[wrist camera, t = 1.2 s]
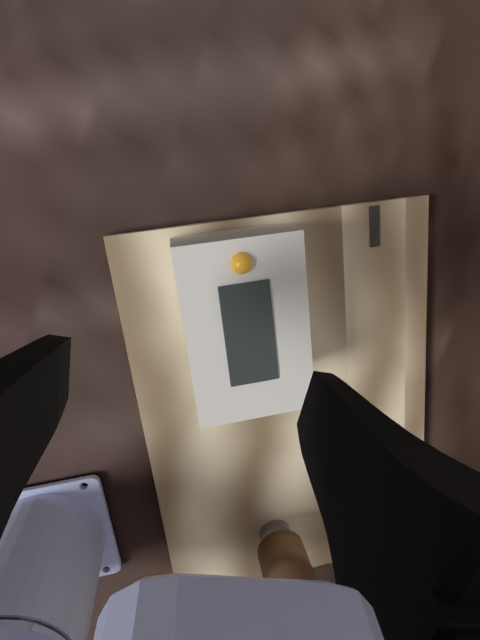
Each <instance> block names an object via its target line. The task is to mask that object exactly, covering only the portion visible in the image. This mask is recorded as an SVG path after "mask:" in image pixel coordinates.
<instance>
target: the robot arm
mask: <svg viewBox="0 0 480 640" xmlns="http://www.w3.org/2000/svg"><path fill="white" fill-rule="evenodd" d="M70 348H71V338H70V337H63V336H55V335H46V336H44V337H42V338H39V339H37V340H35V341H33V342H32V343H30V344H28V345H26V346H24V347H22V348H20V349H18V350H16V351H14V352H12V353H10V354H8V355H6V356H4V357H2V358H0V640H87V639H88V634H89V628H90V623H91V617H92V612H93V606H94V601H95V596H96V590H97V585H98V579H99V577H100V576H104V575H109V574H113V573H116V572H118V571H120V569H121V559H120V555H119V551H118V547H117V543H116V539H115V535H114V531H113V527H112V523H111V519H110V515H109V511H108V507H107V503H106V499H105V496H104V492H103V488H102V484H101V480H100V478H99V477H98V476H97V475H88V476H83V477H78V478H73V479H68V480H63V481H58V482H53V483H48V484H42V485H37V486H32V487H27V488H24V487H25V485H26V484H27V482H28V480H29V478H30V476H31V475H32V473H33V471H34V469H35V467H36V465H37V464H38V462H39V460H40V458H41V456H42V455H43V453H44V451H45V449H46V447H47V445H48V444H49V442H50V440H51V438H52V436H53V434H54V432H55V430H56V429H57V426H58V424H59V421H60V419H61V416H62V414H63V411H64V408H65V405H66V403H67V400H68V391H69V369H70ZM297 430H298V437H299V443H300V448H301V453H302V457H303V460H304V463H305V466H306V470H307V473H308V476H309V479H310V482H311V485H312V488H313V491H314V495H315V498H316V501H317V504H318V507H319V510H320V513H321V516H322V520H323V523H324V527H325V531H326V534H327V539H328V544H329V549H330V554H331V558H332V563H333V568H334V574H335V579H336V584H335V583H331V582H327V581H319V580H300V579H281V578H261V577H242V576H223V575H204V574H185V573H174V574H166V575H158V576H149V577H143V578H142V579H140V580H138V581H136V582H134V583H132V584H130V585H129V586H127V587H125V588H123V589H121V590H119V591H118V592H116V593H114V594H113V595H111V596H110V598H109V600H108V601H107V603H106V605H105V607H104V608H103V610H102V612H101V614H100V616H99V617H98V621H97V626H96V630H95V635H94V640H480V472H478V471H476V470H474V469H472V468H470V467H468V466H466V465H464V464H462V463H460V462H458V461H456V460H455V459H453V458H451V457H449V456H447V455H446V454H444V453H442V452H440V451H439V450H437V449H435V448H434V447H432V446H431V445H429V444H427V443H426V442H424V441H423V440H421V439H419V438H418V437H416V436H415V435H413V434H412V433H410V432H409V431H407V430H406V429H405V428H403V427H402V426H400V425H399V424H398V423H396V422H395V421H394V420H392V419H391V418H389V417H388V416H387V415H386V414H384V413H383V412H382V411H380V410H379V409H378V408H377V407H375V406H374V405H373V404H371V403H370V402H369V401H368V400H367V399H365V398H364V397H363V396H362V395H360V394H359V393H358V392H357V391H355V390H354V389H353V388H352V387H350V386H349V385H348V384H347V383H345V382H344V381H343V380H341V379H340V378H339V377H337V376H336V375H334V374H332V373H326V372H319V371H313V374H312V377H311V380H310V383H309V387H308V390H307V393H306V396H305V399H304V402H303V406H302V409H301V412H300V415H299V418H298V421H297ZM81 483H86V484H88V485H87V486H83V485H82V484H81ZM105 567H109V568H105Z"/></svg>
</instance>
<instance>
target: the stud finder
mask: <svg viewBox="0 0 480 640" xmlns="http://www.w3.org/2000/svg"><path fill="white" fill-rule="evenodd" d="M170 248H171V254H172V260H173V266H174V273H175V279H176V285H177V291H178V297H179V303H180V309H181V316H182V322H183V328H184V334H185V340H186V346H187V353H188V359H189V365H190V371H191V377H192V383H193V389H194V396H195V402H196V408H197V414H198V420H199V426H200V429H202V428H208V427H213V426H218V425H223V424H229V423H234V422H239V421H244V420H250V419H255V418H260V417H265V416H270V415H276V414H281V413H286V412H291V411H297V410H301V409H302V406H303V402H304V399H305V396H306V393H307V390H308V387H309V383H310V380H311V377H312V374H313V362H312V347H311V333H310V318H309V303H308V288H307V273H306V258H305V243H304V230H302V229H297V228H293V227H288V226H283V225H279V224H272V225H264V226H256V227H249V228H241V229H233V230H226V231H218V232H210V233H203V234H195V235H187V236H180V237H172V238H170Z"/></svg>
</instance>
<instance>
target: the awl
mask: <svg viewBox="0 0 480 640" xmlns="http://www.w3.org/2000/svg"><path fill="white" fill-rule="evenodd" d="M260 539H261V542H260V544H259V546H258V549H257V556H258V560H259V564H260V568H261V572H262V576H263V578H281V579H300V580H317V578H316V575H315V573H314V570H313V568H312V565H311V563H310V560H309V557H308V555H307V552H306V550H305V547H304V545H303V542H302V540H301V538H300V536H299V535H298V534H297V533H295V532H293V531H290V528H289V526H288V524H287V523H286V522H284V521H282V520H272V521H269V522H267V523H266V524H265V525H264V526H263V527H262V528H261V530H260Z"/></svg>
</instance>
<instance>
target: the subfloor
mask: <svg viewBox="0 0 480 640" xmlns="http://www.w3.org/2000/svg"><path fill="white" fill-rule="evenodd" d="M428 218H429V195H415V196H408V197H400V198H392V199H384V200H376V201H368V202H360V203H353V204H345V205H337V206H329V207H321V208H313V209H305V210H298V211H290V212H282V213H274V214H266V215H258V216H251V217H243V218H235V219H227V220H219V221H211V222H203V223H196V224H188V225H180V226H172V227H164V228H156V229H148V230H141V231H133V232H125V233H117V234H109V235H105V236H103V238H104V243H105V248H106V253H107V258H108V262H109V267H110V272H111V277H112V282H113V286H114V291H115V296H116V301H117V306H118V310H119V315H120V320H121V325H122V330H123V334H124V339H125V344H126V349H127V353H128V358H129V363H130V368H131V373H132V377H133V382H134V387H135V392H136V397H137V401H138V406H139V411H140V416H141V421H142V425H143V430H144V435H145V440H146V445H147V449H148V454H149V459H150V464H151V468H152V473H153V478H154V483H155V488H156V492H157V497H158V502H159V507H160V512H161V516H162V521H163V526H164V531H165V536H166V540H167V545H168V550H169V555H170V560H171V564H172V569H173V574H174V573H185V574H204V575H223V576H242V577H261V578H263V576H262V572H261V568H260V564H259V560H258V556H257V549H258V546H259V544H260V542H261V539H260V530H261V528H262V527H263V526H264V525H265V524H266V523H267V522H269V521H272V520H282V521H284V522H286V523H287V524H288V526H289V528H290V531H293V532H295V533H297V534H298V535H299V536H300V538H301V540H302V542H303V545H304V547H305V550H306V552H307V555H308V557H309V560H310V563H311V565H312V567H316V566H320V565H324V564H329V563H332V558H331V554H330V549H329V544H328V539H327V534H326V531H325V527H324V523H323V520H322V516H321V513H320V510H319V507H318V504H317V501H316V498H315V495H314V491H313V488H312V485H311V482H310V479H309V476H308V473H307V470H306V466H305V463H304V460H303V457H302V453H301V448H300V443H299V437H298V430H297V421H298V418H299V415H300V412H301V410H297V411H291V412H286V413H281V414H276V415H270V416H265V417H260V418H255V419H250V420H244V421H239V422H234V423H229V424H223V425H218V426H213V427H208V428H202V429H200V426H199V420H198V414H197V408H196V402H195V396H194V389H193V383H192V377H191V371H190V365H189V359H188V353H187V346H186V340H185V334H184V328H183V322H182V316H181V309H180V303H179V297H178V291H177V285H176V279H175V273H174V266H173V260H172V254H171V248H170V238H172V237H180V236H187V235H195V234H203V233H210V232H218V231H226V230H233V229H241V228H249V227H256V226H264V225H272V224H279V225H283V226H288V227H293V228H297V229H302V230H304V243H305V258H306V273H307V288H308V303H309V318H310V333H311V347H312V362H313V371H319V372H326V373H332V374H334V375H336V376H337V377H339V378H340V379H341V380H343V381H344V382H345V383H347V384H348V385H349V386H350V387H352V388H353V389H354V390H355V391H357V392H358V393H359V394H360V395H362V396H363V397H364V398H365V399H367V400H368V401H369V402H370V403H371V404H373V405H374V406H375V407H377V408H378V409H379V410H380V411H382V412H383V413H384V414H386V415H387V416H388V417H389V418H391V419H392V420H394V421H395V422H396V423H398V424H399V425H400V426H402V427H403V428H405V429H406V430H407V431H409V432H410V433H412V434H413V435H415V436H416V437H418V438H419V439H421V440H423V441H424V417H425V367H426V317H427V267H428Z"/></svg>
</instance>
